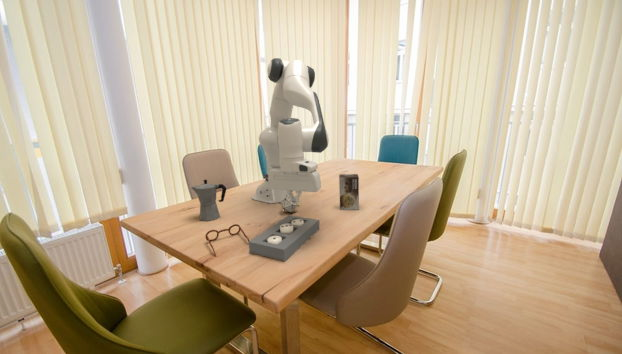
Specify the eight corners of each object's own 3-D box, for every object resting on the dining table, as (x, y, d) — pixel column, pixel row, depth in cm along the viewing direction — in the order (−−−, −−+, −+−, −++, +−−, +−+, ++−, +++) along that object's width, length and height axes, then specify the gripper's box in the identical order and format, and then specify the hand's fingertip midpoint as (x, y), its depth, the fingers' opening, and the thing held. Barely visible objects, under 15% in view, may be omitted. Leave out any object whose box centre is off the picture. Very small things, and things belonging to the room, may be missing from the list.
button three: (278, 236, 98) (277, 227, 97) (285, 231, 102) (284, 222, 101) (289, 238, 96) (288, 229, 95) (296, 233, 100) (295, 224, 99)
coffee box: (357, 205, 133) (358, 173, 129) (358, 210, 127) (359, 176, 123) (339, 205, 134) (339, 173, 130) (339, 210, 128) (339, 177, 124)
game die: (289, 221, 126) (279, 209, 119) (282, 210, 132) (273, 198, 126) (304, 210, 127) (296, 197, 120) (297, 199, 133) (289, 187, 126)
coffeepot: (191, 222, 119) (185, 183, 115) (199, 214, 128) (194, 177, 124) (226, 220, 120) (222, 181, 115) (231, 213, 129) (227, 176, 125)
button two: (289, 231, 105) (289, 222, 104) (295, 226, 109) (295, 218, 108) (300, 233, 103) (299, 224, 102) (306, 228, 107) (305, 219, 106)
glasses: (240, 234, 107) (239, 222, 106) (252, 246, 96) (251, 234, 95) (206, 243, 100) (204, 230, 99) (214, 258, 89) (212, 244, 88)
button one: (265, 249, 91) (264, 240, 90) (273, 243, 95) (272, 234, 95) (277, 252, 89) (276, 242, 88) (284, 246, 93) (284, 236, 92)
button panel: (249, 252, 91) (248, 241, 90) (289, 223, 114) (288, 215, 113) (284, 261, 85) (284, 249, 84) (319, 229, 108) (319, 219, 107)
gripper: (263, 165, 97) (266, 202, 101) (314, 167, 89) (316, 207, 92) (272, 162, 103) (275, 197, 106) (321, 164, 95) (323, 201, 98)
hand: (294, 201), depth 99 cm, fingers closed
